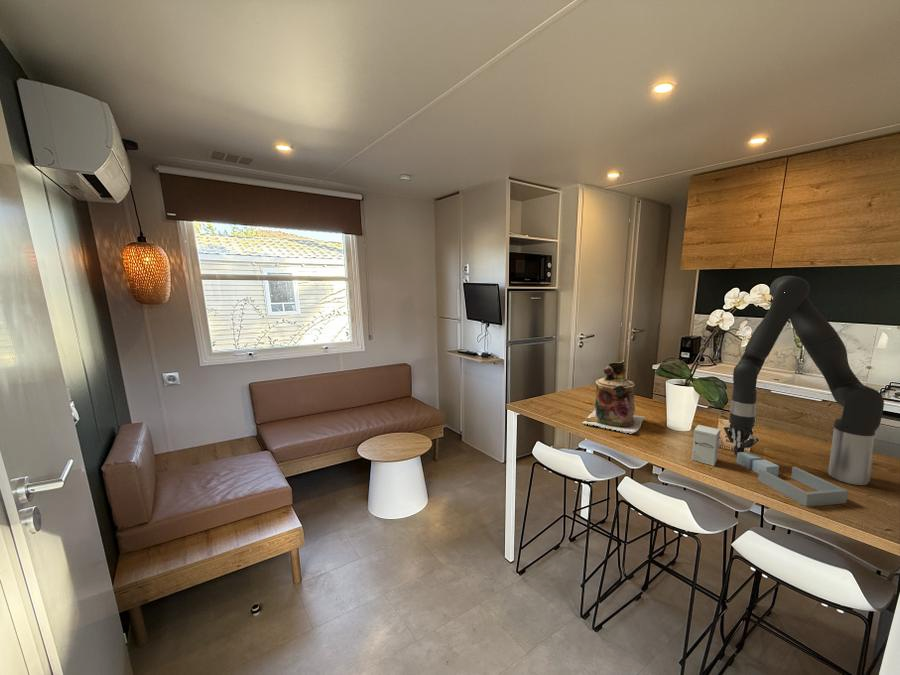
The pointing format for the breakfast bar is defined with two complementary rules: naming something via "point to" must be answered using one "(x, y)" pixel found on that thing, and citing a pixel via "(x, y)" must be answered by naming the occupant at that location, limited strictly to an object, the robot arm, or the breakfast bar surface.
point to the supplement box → (705, 444)
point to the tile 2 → (765, 467)
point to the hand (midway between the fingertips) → (738, 455)
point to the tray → (822, 496)
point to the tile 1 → (747, 459)
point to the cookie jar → (615, 401)
